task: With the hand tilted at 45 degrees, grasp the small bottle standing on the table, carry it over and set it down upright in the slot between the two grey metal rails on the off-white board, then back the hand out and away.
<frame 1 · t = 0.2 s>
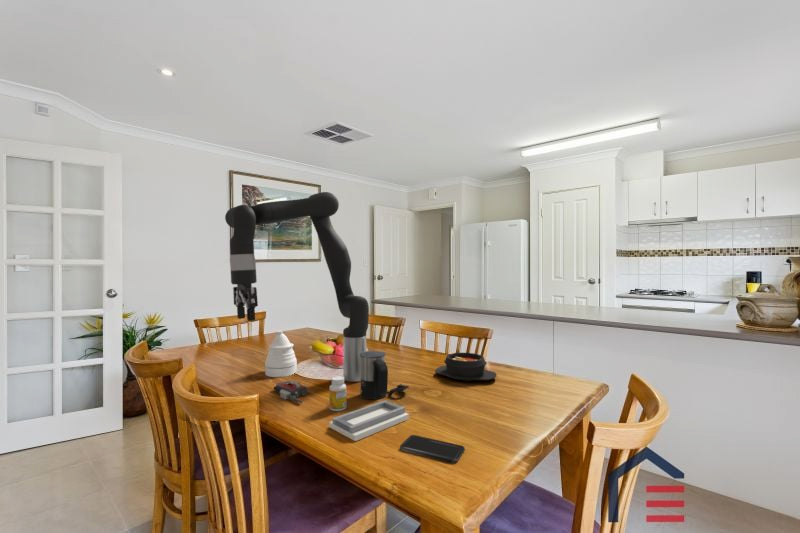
hand: (246, 319, 122), 29 cm above the table, tool pointing down, fingers open, 8 cm apart
milk frother: (384, 395, 135), on the table
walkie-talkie: (293, 396, 135), on the table
supplement bottle: (338, 408, 123), on the table
casserole: (465, 377, 156), on the table
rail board: (370, 423, 111), on the table
phone: (432, 451, 96), on the table
honey pot: (281, 373, 163), on the table
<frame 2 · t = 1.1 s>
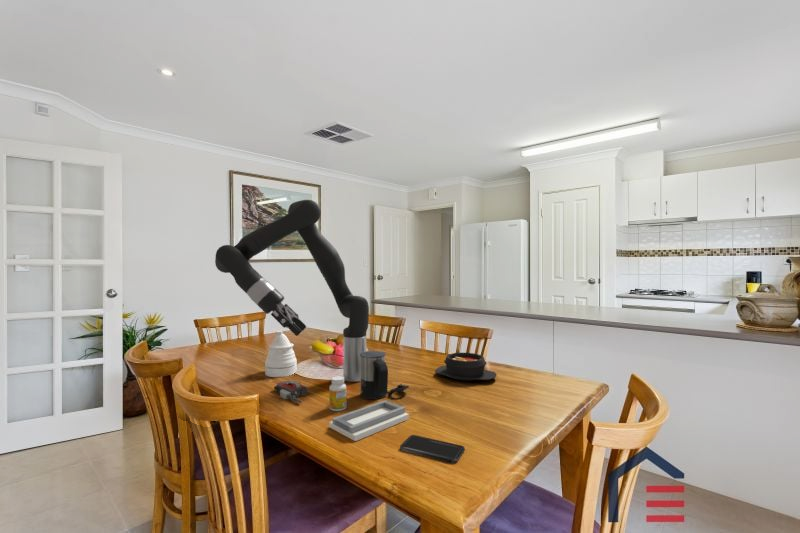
hand: (302, 331, 123), 25 cm above the table, tool tilted 45°, fingers open, 8 cm apart
nothing on the table moved.
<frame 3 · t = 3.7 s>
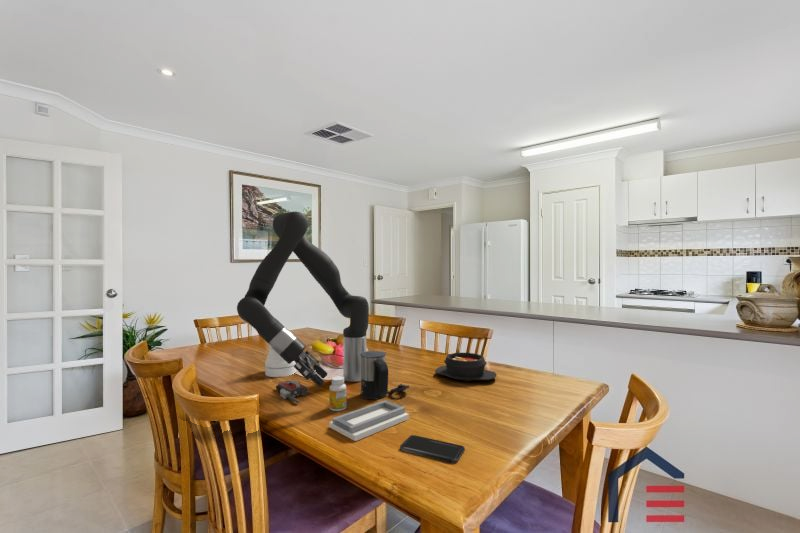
hand: (324, 380, 122), 9 cm above the table, tool tilted 45°, fingers open, 8 cm apart
nothing on the table moved.
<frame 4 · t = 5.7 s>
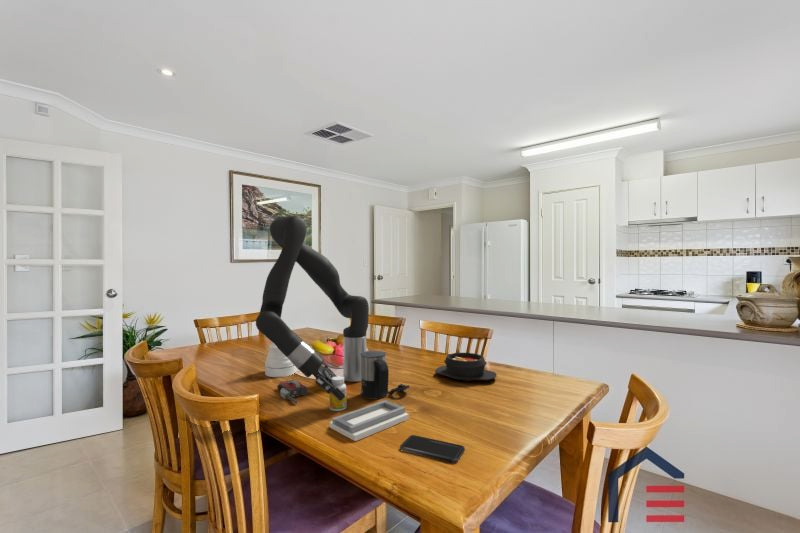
hand: (343, 394, 123), 4 cm above the table, tool tilted 45°, fingers closed on supplement bottle, 5 cm apart
supplement bottle: (338, 408, 123), on the table, touching gripper
everything else where it was.
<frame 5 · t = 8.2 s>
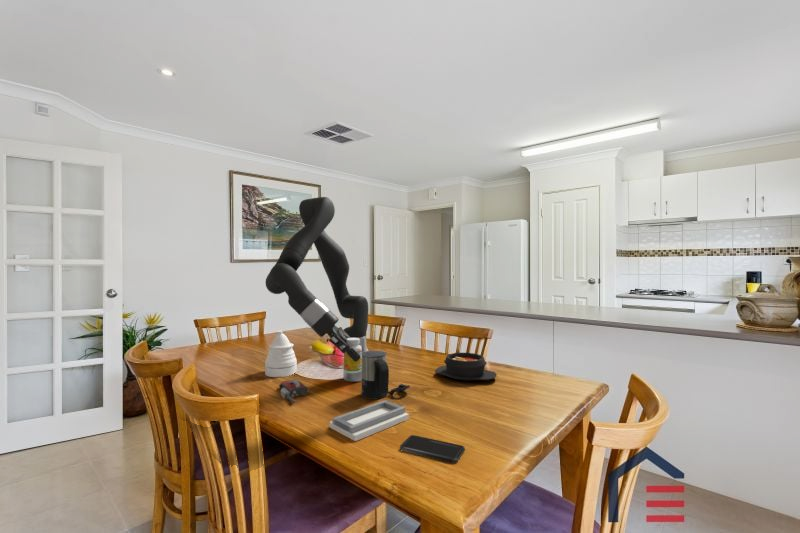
hand: (358, 356, 116), 18 cm above the table, tool tilted 45°, fingers closed on supplement bottle, 5 cm apart
supplement bottle: (352, 371, 115), point 14 cm above the table, touching gripper
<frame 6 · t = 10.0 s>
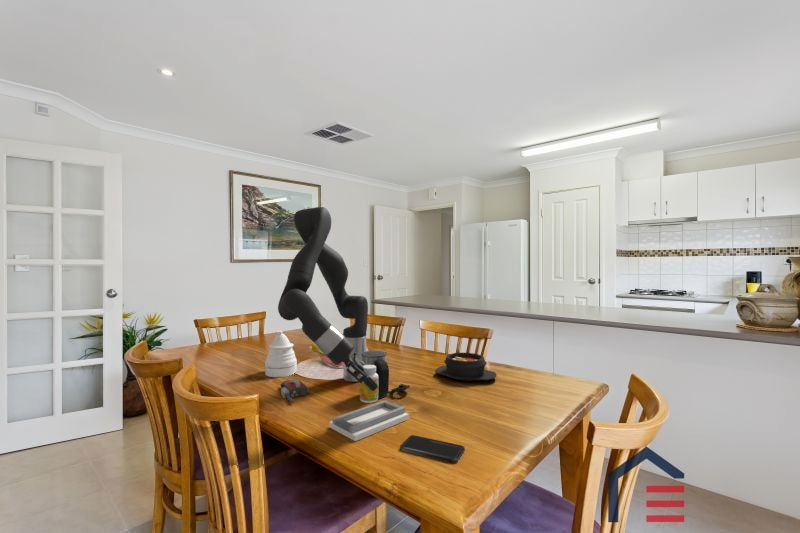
hand: (375, 385, 111), 11 cm above the table, tool tilted 45°, fingers closed on supplement bottle, 5 cm apart
supplement bottle: (369, 400, 111), point 7 cm above the table, touching gripper
when the fingers open (6 cm above the table, at t = 11.7 s): supplement bottle stays where it is, resting on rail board.
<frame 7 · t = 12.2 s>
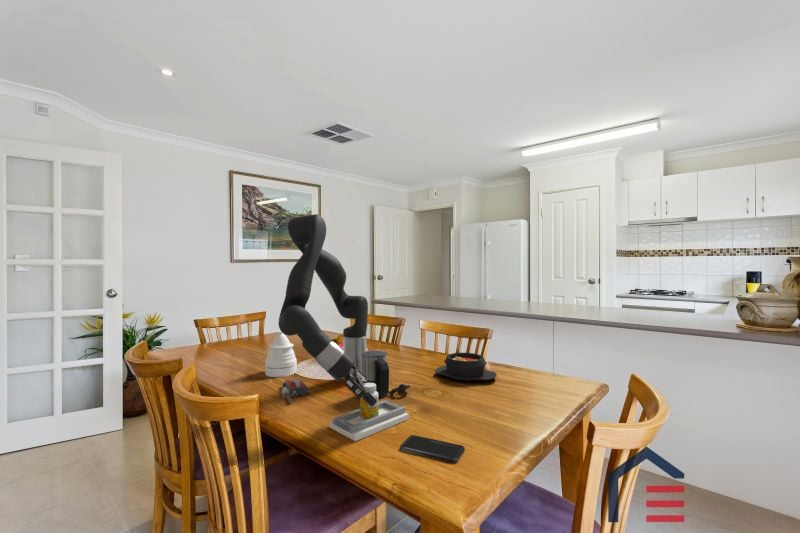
hand: (374, 398, 111), 7 cm above the table, tool tilted 45°, fingers open, 8 cm apart
supplement bottle: (369, 418, 111), point 1 cm above the table, touching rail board
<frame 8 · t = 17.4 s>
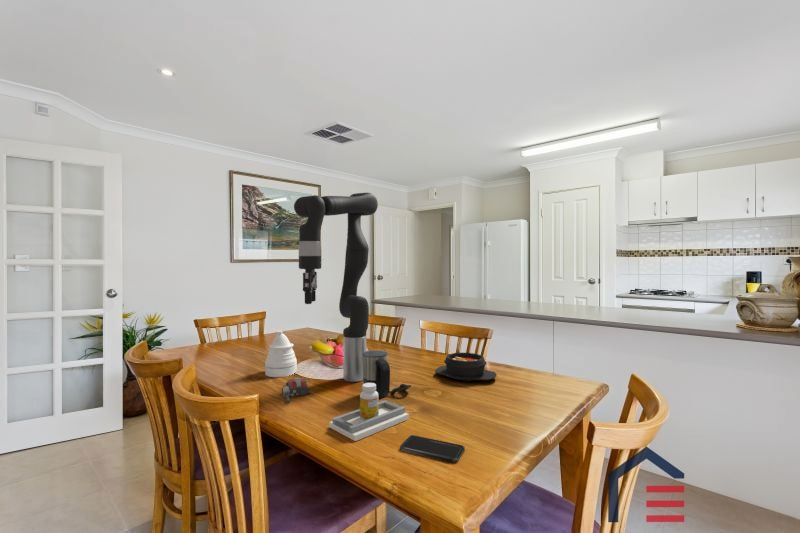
hand: (310, 302, 130), 33 cm above the table, tool pointing down, fingers open, 8 cm apart
at the end: supplement bottle inside the target area on the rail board (0.2 cm from its centre), point 1.3 cm above the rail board's base; supplement bottle tilted 0°; the gripper is holding nothing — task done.
